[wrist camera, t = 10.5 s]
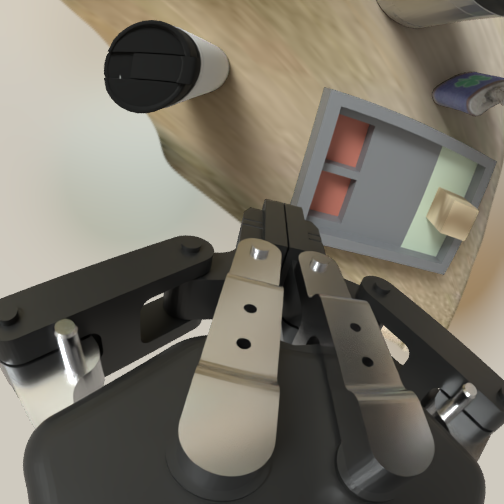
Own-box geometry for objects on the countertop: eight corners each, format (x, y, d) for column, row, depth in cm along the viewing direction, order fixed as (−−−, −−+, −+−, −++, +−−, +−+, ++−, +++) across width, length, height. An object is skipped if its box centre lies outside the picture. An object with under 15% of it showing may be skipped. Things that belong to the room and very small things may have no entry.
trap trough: (324, 87, 34) (331, 88, 30) (479, 151, 35) (496, 161, 32) (285, 220, 43) (287, 236, 39) (432, 258, 45) (443, 274, 41)
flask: (435, 107, 33) (481, 123, 24) (427, 87, 32) (473, 96, 23) (483, 86, 31) (534, 98, 21) (476, 67, 29) (527, 74, 20)
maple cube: (438, 186, 36) (454, 200, 32) (462, 196, 37) (479, 210, 33) (425, 216, 39) (440, 232, 35) (449, 225, 39) (464, 241, 35)
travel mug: (227, 97, 35) (187, 122, 18) (173, 89, 34) (90, 112, 17) (237, 47, 32) (206, 21, 15) (181, 41, 31) (102, 18, 14)
